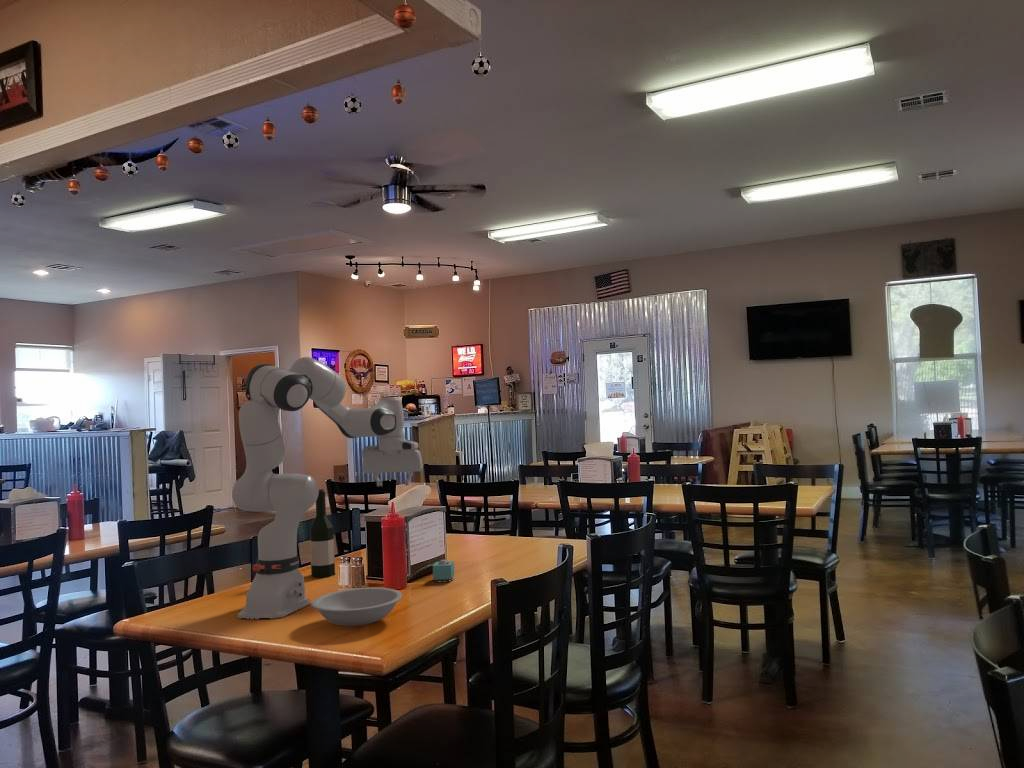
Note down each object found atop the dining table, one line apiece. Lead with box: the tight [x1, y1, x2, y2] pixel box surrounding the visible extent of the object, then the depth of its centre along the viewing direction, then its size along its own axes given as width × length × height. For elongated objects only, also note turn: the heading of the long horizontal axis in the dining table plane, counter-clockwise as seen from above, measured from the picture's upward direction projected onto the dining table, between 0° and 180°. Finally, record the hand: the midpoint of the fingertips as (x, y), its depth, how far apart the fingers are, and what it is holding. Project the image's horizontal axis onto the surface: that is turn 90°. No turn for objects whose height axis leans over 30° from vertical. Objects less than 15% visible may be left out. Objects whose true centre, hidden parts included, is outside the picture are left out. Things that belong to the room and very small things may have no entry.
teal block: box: [432, 561, 455, 581], centre depth 248 cm, size 6×6×4 cm
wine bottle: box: [309, 488, 336, 579], centre depth 264 cm, size 8×8×30 cm
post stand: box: [434, 559, 454, 583], centre depth 248 cm, size 6×6×6 cm
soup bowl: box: [310, 587, 403, 627], centre depth 202 cm, size 24×24×7 cm
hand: (393, 485), depth 255 cm, fingers open, 8 cm apart
